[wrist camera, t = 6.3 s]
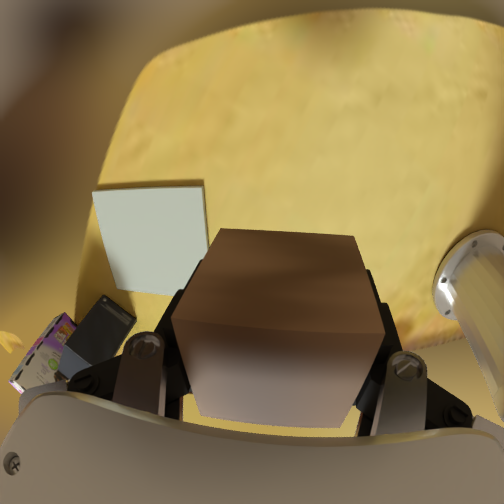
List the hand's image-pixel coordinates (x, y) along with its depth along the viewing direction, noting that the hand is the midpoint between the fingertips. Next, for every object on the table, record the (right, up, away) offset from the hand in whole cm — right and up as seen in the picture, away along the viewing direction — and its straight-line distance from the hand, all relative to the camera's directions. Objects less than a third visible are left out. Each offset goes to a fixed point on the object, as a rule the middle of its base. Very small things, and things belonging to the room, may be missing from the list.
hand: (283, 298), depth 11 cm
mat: (-12, +3, +19) cm, 22 cm away
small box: (-23, -9, +27) cm, 37 cm away
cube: (0, 0, +1) cm, 1 cm away
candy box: (-32, -14, +32) cm, 47 cm away
